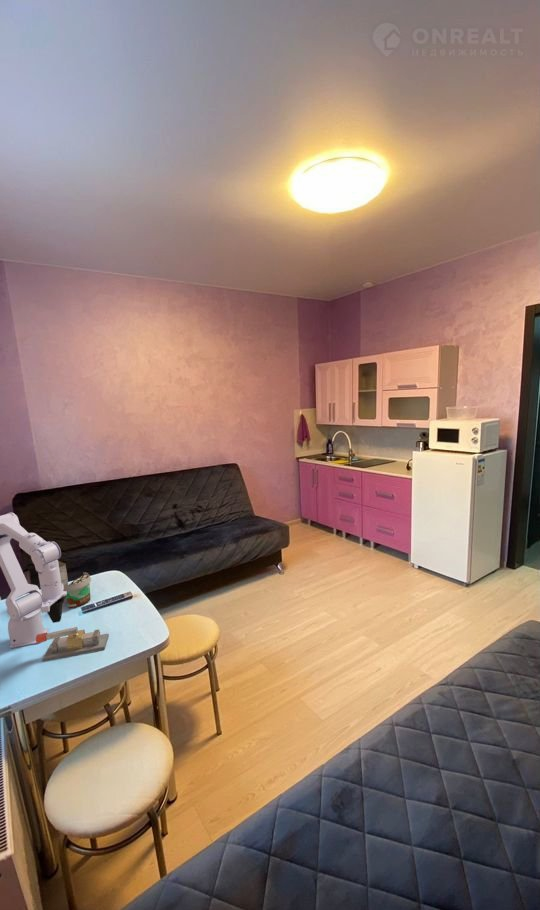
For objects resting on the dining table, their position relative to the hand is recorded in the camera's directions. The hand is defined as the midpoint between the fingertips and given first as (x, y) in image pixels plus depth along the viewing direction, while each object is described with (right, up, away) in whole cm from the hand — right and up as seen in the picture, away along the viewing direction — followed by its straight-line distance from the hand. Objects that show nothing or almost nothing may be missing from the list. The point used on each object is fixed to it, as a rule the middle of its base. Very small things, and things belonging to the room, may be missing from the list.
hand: (56, 621), depth 122 cm
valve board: (+5, -10, +2) cm, 12 cm away
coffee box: (-18, -7, +34) cm, 39 cm away
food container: (-6, -6, +31) cm, 32 cm away
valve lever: (0, -5, 0) cm, 6 cm away
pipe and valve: (+5, -10, +2) cm, 12 cm away
